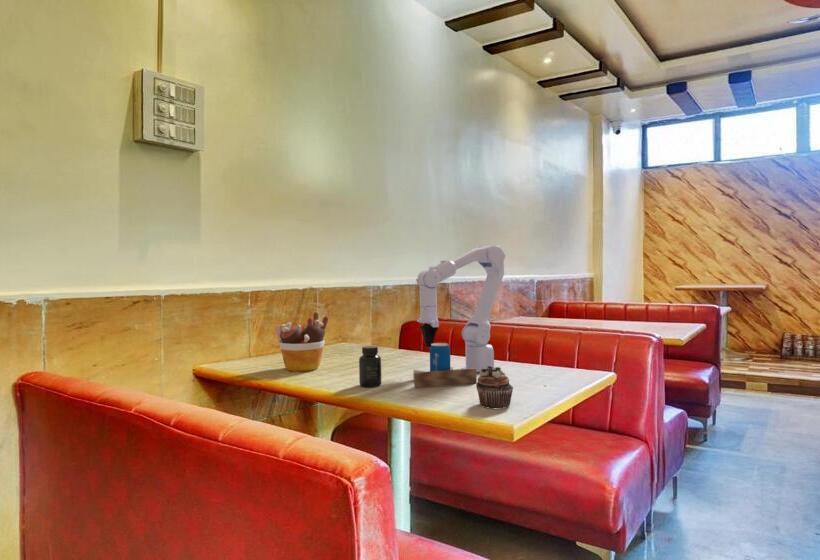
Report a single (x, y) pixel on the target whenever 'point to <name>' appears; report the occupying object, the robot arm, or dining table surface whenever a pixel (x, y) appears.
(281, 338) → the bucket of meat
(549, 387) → the dining table surface
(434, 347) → the beverage can
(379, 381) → the supplement bottle
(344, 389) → the dining table surface
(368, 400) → the dining table surface
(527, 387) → the dining table surface
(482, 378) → the cupcake
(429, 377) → the caddy
